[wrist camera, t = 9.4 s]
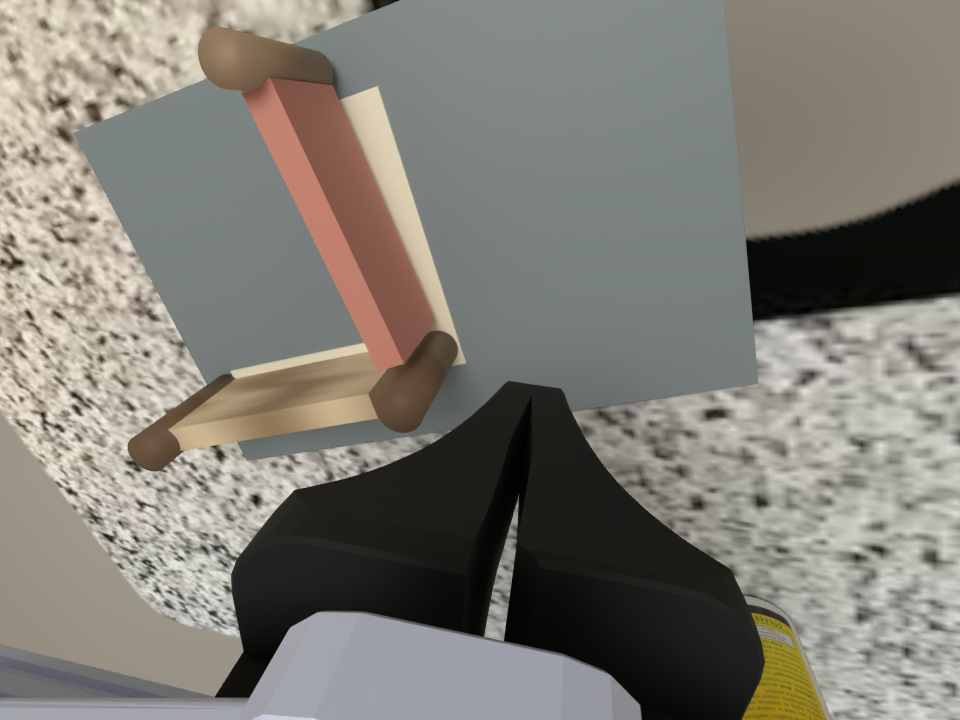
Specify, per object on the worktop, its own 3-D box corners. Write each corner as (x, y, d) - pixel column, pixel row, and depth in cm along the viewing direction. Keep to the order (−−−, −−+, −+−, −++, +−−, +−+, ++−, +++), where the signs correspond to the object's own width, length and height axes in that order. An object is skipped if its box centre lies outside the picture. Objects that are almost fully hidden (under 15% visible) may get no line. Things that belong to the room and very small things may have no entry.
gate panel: (440, 319, 21) (400, 374, 16) (409, 328, 21) (363, 385, 17) (321, 42, 17) (229, 16, 13) (287, 60, 18) (188, 41, 13)
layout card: (251, 456, 27) (246, 461, 27) (81, 132, 21) (71, 133, 21) (755, 378, 20) (758, 384, 20) (710, -122, 15) (713, -129, 14)
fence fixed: (230, 401, 26) (141, 473, 21) (215, 373, 25) (120, 439, 20) (465, 356, 22) (429, 429, 17) (454, 322, 22) (413, 387, 17)
